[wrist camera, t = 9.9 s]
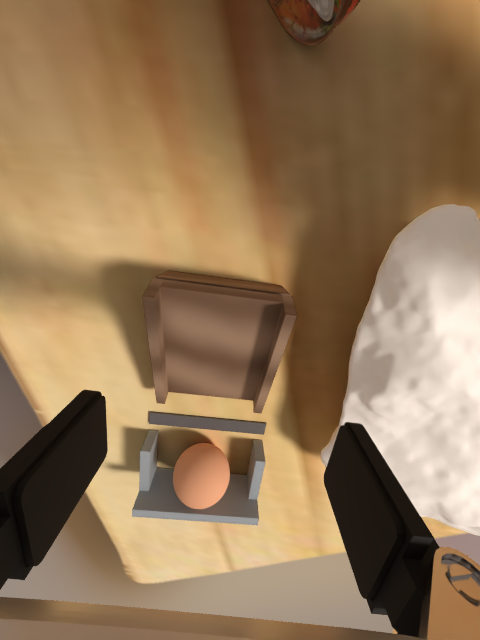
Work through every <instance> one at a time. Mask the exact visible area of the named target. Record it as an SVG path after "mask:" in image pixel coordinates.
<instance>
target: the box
mask: <svg viewBox="0 0 480 640" xmlns="http://www.w3.org/2000/svg"><path fill="white" fill-rule="evenodd" d="M149 424H156V425H167V426H178V427H188V428H199V429H210V430H220V431H231V432H242V433H252V434H263V435H264V431H265V427H266V423H264V422H254V421H243V420H233V419H223V418H212V417H202V416H192V415H181V414H171V413H161V412H150V415H149ZM157 450H158V431H157V430H149V432H148V434H147V437H146V439H145V441H144V444H143V446H142V448H141V450H140V486H139V493H138V496H137V499H136V501H135V504H134V507H133V509H132V517H146V518H161V519H175V520H190V521H204V522H219V523H233V524H248V525H258V520H259V515H258V504H257V498H258V493H259V489H260V484H261V480H262V475H263V470H264V466H265V456H264V449H263V442H262V440H255V439H254V441H253V446H252V451H251V457H250V462H249V467H248V472H247V475H241V474H230V479H229V484H228V487H227V489H226V492H225V493H224V495H223V496H222V498H221V499H220V500H219V501H218V502H217V503H215V504H214V505H212V506H210V507H208V508H205V509H193V508H190V507H188V506H186V505H185V504H184V503H182V502H181V500H180V499H179V498H178V496H177V495H176V492H175V490H174V485H173V472H174V469H168V468H157Z"/></svg>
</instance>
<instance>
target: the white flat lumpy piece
mask: <svg viewBox="0 0 480 640" xmlns="http://www.w3.org/2000/svg"><path fill="white" fill-rule="evenodd" d="M346 422H352V423H360V424H362V425H363V426H364V428H365V429H366V431H367V432H368V434H369V436H370V437H371V439H372V440H373V442H374V443H375V445H376V447H377V448H378V450H379V451H380V453H381V455H382V456H383V458H384V459H385V461H386V463H387V464H388V466H389V467H390V469H391V470H392V472H393V474H394V475H395V477H396V478H397V480H398V482H399V483H400V485H401V486H402V488H403V490H404V491H405V493H406V494H407V496H408V497H409V499H410V501H411V502H412V504H413V505H414V507H415V509H416V510H417V512H418V513H419V515H420V517H429V518H433V519H436V520H438V521H440V522H442V523H444V524H446V525H448V526H451V527H453V528H457V529H461V530H463V531H466V532H468V533H471V534H475V535H479V536H480V221H479V218H478V217H477V214H476V211H475V210H474V209H472V208H471V207H469V206H458V205H455V204H448V205H441V206H437V207H433V208H431V209H429V210H427V211H426V212H425V213H423V214H422V215H419V216H418V217H416V218H415V219H414V220H413V221H411V222H410V223H409V224H408V225H407V226H406V227H405V228H404V229H403V230H402V231H400V232H399V233H398V234H397V235H396V236H395V238H394V239H393V241H392V242H391V244H390V246H389V249H388V251H387V253H386V255H385V257H384V259H383V261H382V263H381V265H380V267H379V270H378V272H377V276H376V280H375V284H374V287H373V290H372V292H371V296H370V299H369V302H368V304H367V306H366V308H365V311H364V314H363V317H362V319H361V321H360V323H359V325H358V328H357V331H356V336H355V340H354V342H353V345H352V351H351V356H350V361H349V372H348V384H347V390H346V395H345V398H344V400H343V409H342V415H341V418H340V422H339V426H338V427H337V428H336V430H335V431H334V432H333V434H332V436H331V440H330V442H329V443H328V444H327V445H326V446H325V447H324V448H323V449H322V450H321V460H322V462H323V464H324V465H325V467H327V464H328V461H329V458H330V455H331V452H332V449H333V446H334V443H335V440H336V437H337V434H338V431H339V428H340V426H341V425H344V424H345V423H346Z"/></svg>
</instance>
